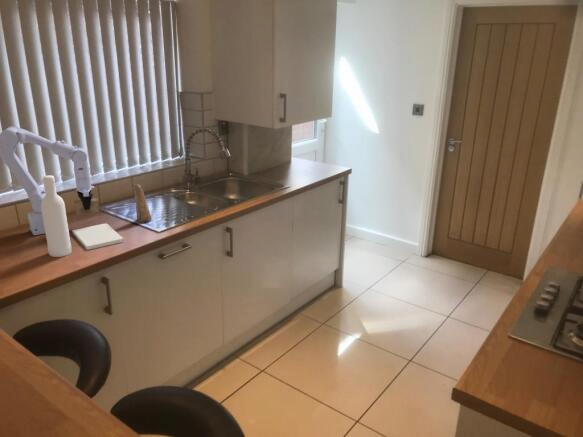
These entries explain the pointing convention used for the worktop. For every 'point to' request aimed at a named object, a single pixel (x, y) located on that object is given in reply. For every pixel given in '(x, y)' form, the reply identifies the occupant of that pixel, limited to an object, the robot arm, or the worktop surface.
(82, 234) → the cutting board
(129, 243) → the worktop surface
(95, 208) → the walnut block
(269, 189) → the worktop surface
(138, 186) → the tan tapered horn
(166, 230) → the worktop surface
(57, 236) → the bottle
